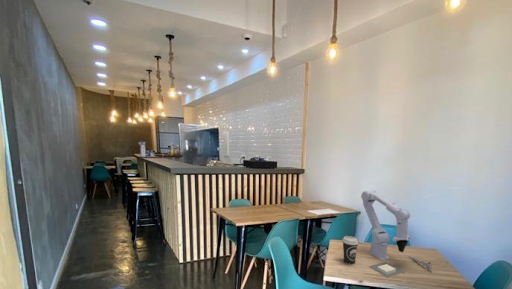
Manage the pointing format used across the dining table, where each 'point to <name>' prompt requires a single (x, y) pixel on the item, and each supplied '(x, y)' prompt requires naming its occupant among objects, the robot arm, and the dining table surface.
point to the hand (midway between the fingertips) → (401, 251)
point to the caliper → (423, 263)
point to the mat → (398, 271)
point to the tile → (386, 269)
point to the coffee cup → (349, 249)
